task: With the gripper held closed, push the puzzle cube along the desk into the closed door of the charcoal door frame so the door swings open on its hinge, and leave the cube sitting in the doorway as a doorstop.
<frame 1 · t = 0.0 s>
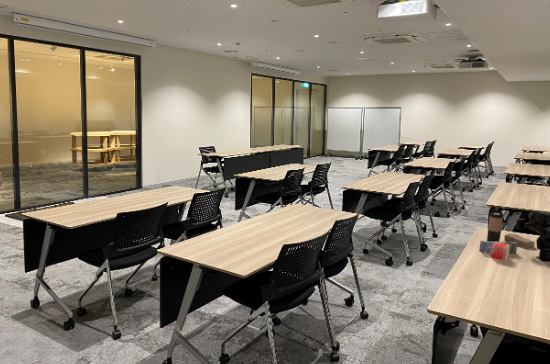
hand: (524, 220, 272), 17 cm above the table, tool horizontal, fingers open, 9 cm apart
travel mug: (492, 242, 278), on the table
door: (499, 247, 259), point 3 cm above the table, hinge at 0.0°
brick: (518, 244, 278), on the table
puzzle cube: (499, 257, 252), on the table
door frame: (498, 252, 261), on the table
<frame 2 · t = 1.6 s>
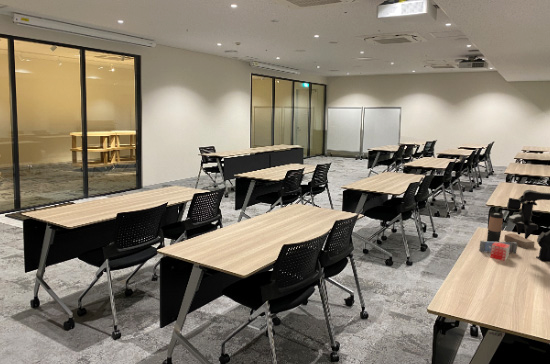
hand: (522, 236, 253), 12 cm above the table, tool pointing down, fingers open, 8 cm apart
nothing on the table moved.
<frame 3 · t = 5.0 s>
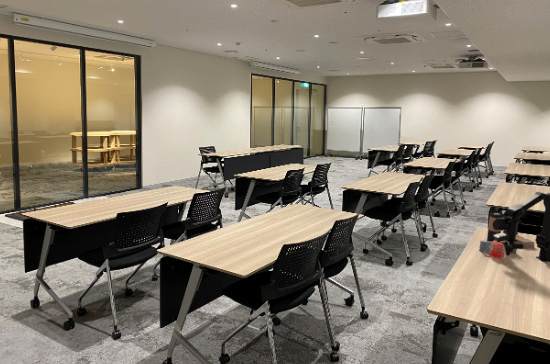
hand: (507, 255, 245), 4 cm above the table, tool pointing down, fingers closed
puzzle cube: (497, 256, 253), on the table, touching gripper
everything else where it was.
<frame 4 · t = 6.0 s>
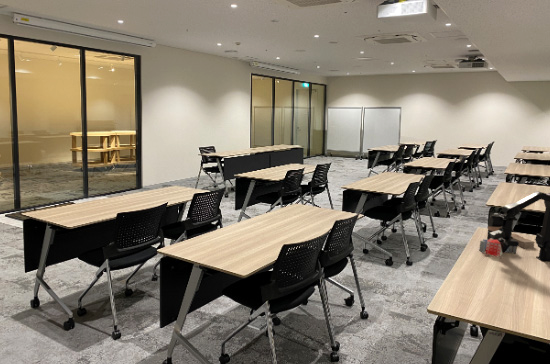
hand: (503, 252, 249), 4 cm above the table, tool pointing down, fingers closed
door: (497, 246, 261), point 3 cm above the table, hinge at 16.1°, touching puzzle cube
puzzle cube: (494, 253, 258), on the table, touching door, gripper
everything else where it was.
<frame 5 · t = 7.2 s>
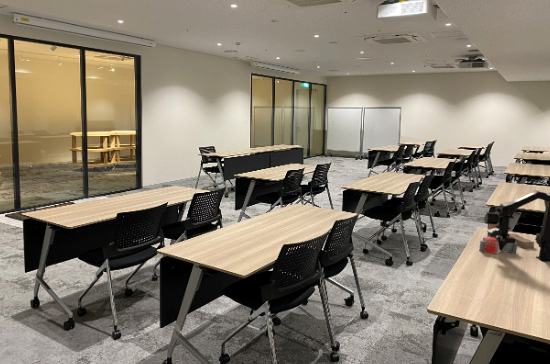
hand: (500, 250, 253), 4 cm above the table, tool pointing down, fingers closed
door: (497, 245, 263), point 3 cm above the table, hinge at 32.6°, touching puzzle cube
puzzle cube: (492, 251, 261), on the table, touching door, gripper
everything else where it was.
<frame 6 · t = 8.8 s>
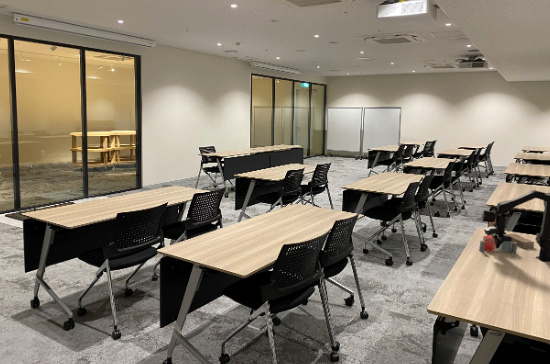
hand: (497, 248, 257), 4 cm above the table, tool pointing down, fingers closed
door: (497, 244, 265), point 3 cm above the table, hinge at 53.1°, touching puzzle cube
puzzle cube: (491, 249, 265), on the table, touching door, gripper
everything else where it was.
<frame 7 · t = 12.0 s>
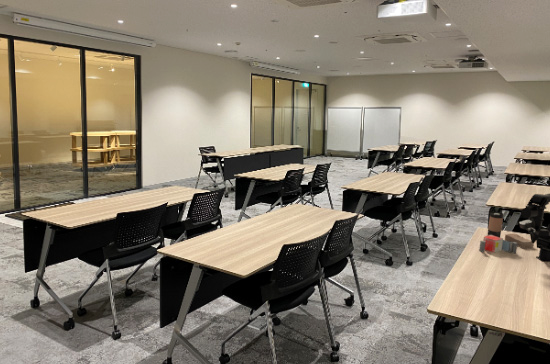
hand: (532, 242, 242), 12 cm above the table, tool pointing down, fingers closed
door: (497, 244, 265), point 3 cm above the table, hinge at 53.8°
puzzle cube: (491, 249, 265), on the table
everything else where it was.
at the end: door at +54° (first picture: +0°); puzzle cube inside the target area (2.1 cm from its centre), on the table; puzzle cube tilted 0° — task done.
